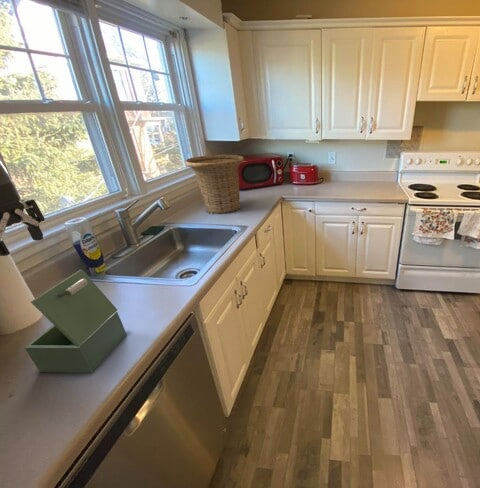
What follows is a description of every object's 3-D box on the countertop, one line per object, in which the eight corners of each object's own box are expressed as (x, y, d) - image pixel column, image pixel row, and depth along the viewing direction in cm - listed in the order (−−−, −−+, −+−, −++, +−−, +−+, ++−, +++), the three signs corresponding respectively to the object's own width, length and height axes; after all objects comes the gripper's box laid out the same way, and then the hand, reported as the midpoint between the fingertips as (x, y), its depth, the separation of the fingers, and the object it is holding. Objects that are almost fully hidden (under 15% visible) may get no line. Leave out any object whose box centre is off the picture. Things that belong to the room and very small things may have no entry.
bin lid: (30, 302, 62) (46, 295, 61) (79, 270, 74) (93, 264, 73) (76, 347, 68) (92, 341, 67) (115, 310, 80) (129, 305, 79)
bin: (40, 372, 72) (24, 347, 68) (82, 334, 84) (70, 311, 80) (92, 373, 72) (78, 348, 68) (126, 334, 84) (117, 311, 80)
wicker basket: (231, 220, 170) (222, 164, 155) (183, 215, 179) (170, 162, 164) (259, 203, 200) (253, 155, 185) (217, 199, 209) (208, 153, 194)
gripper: (4, 175, 69) (35, 235, 76) (-70, 191, 56) (-25, 261, 64) (34, 175, 69) (61, 235, 76) (-34, 191, 56) (7, 261, 63)
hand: (22, 247), depth 70 cm, fingers open, 8 cm apart
